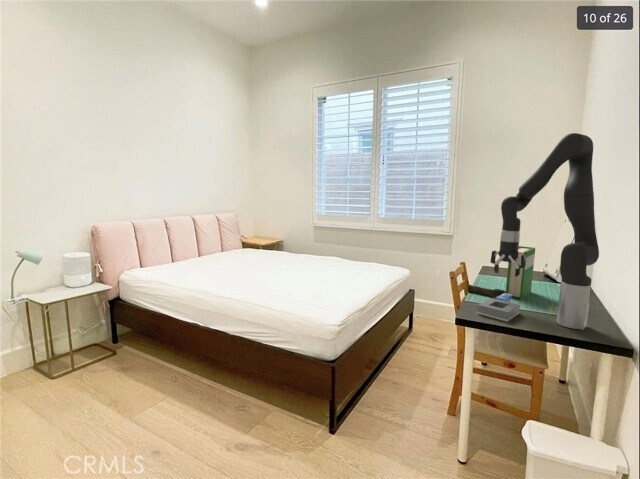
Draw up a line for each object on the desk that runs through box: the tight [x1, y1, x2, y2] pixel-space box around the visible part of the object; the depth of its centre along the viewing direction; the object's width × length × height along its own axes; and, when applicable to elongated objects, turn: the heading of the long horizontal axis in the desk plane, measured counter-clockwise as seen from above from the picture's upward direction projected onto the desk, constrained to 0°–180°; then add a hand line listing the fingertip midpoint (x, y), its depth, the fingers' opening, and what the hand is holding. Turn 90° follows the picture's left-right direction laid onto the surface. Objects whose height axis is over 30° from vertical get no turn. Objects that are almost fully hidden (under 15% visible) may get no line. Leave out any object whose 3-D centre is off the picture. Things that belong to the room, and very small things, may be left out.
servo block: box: [495, 293, 513, 303], centre depth 156 cm, size 4×10×5 cm, turn 132°
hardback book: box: [505, 245, 536, 300], centre depth 170 cm, size 18×7×24 cm, turn 135°
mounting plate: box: [476, 297, 521, 322], centre depth 144 cm, size 12×14×4 cm
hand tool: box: [467, 284, 506, 299], centre depth 169 cm, size 19×4×5 cm, turn 40°
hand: (506, 274), depth 154 cm, fingers open, 8 cm apart
